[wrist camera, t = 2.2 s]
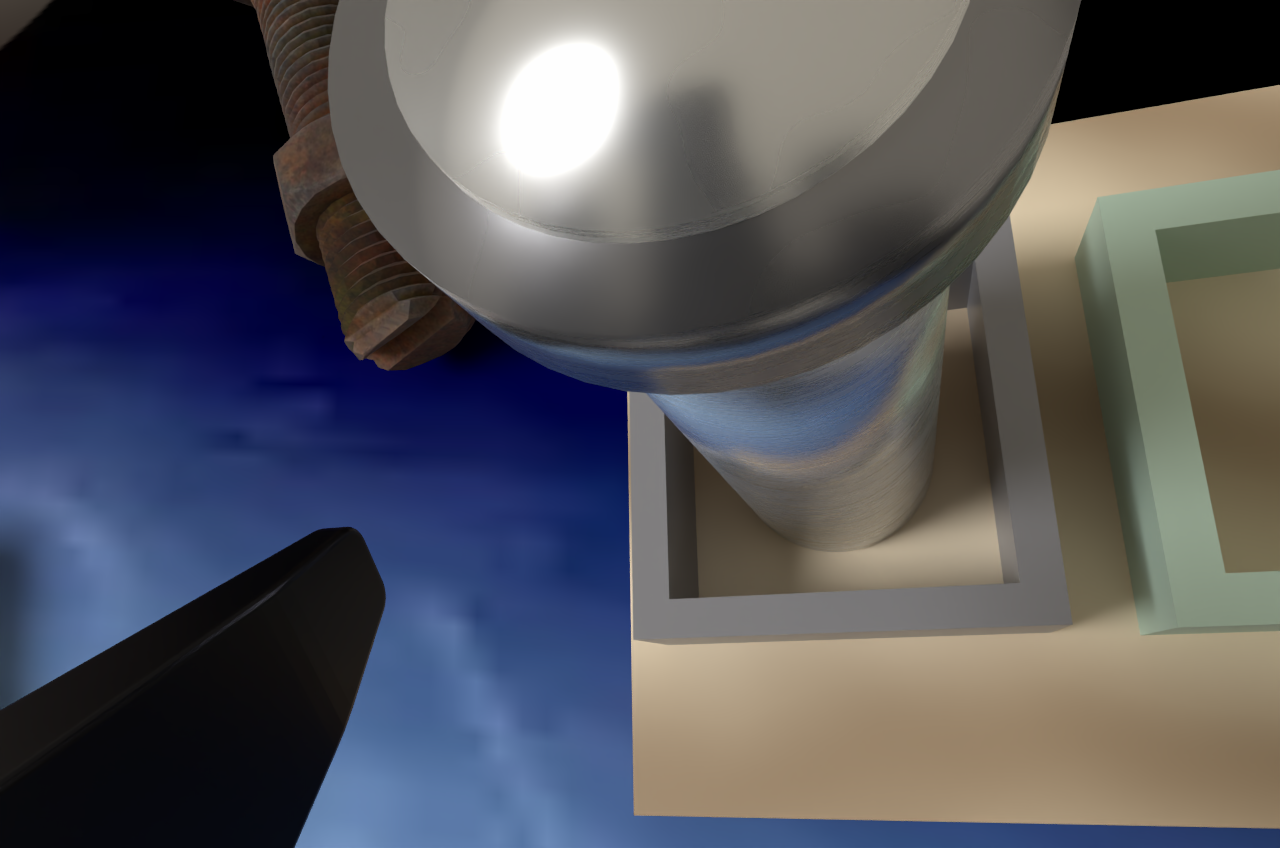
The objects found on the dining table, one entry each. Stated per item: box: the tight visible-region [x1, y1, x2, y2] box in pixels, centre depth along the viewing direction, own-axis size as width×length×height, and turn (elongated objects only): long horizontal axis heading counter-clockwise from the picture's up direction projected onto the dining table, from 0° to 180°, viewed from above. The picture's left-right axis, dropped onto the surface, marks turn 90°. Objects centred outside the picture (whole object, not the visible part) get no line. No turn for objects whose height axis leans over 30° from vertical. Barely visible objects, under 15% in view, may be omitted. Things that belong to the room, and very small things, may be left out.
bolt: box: [235, 0, 476, 370], centre depth 24 cm, size 6×5×15 cm
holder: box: [629, 215, 1073, 645], centre depth 18 cm, size 7×7×2 cm
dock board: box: [627, 85, 1280, 828], centre depth 18 cm, size 14×18×1 cm
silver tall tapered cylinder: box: [328, 0, 1081, 552], centre depth 12 cm, size 5×5×14 cm
